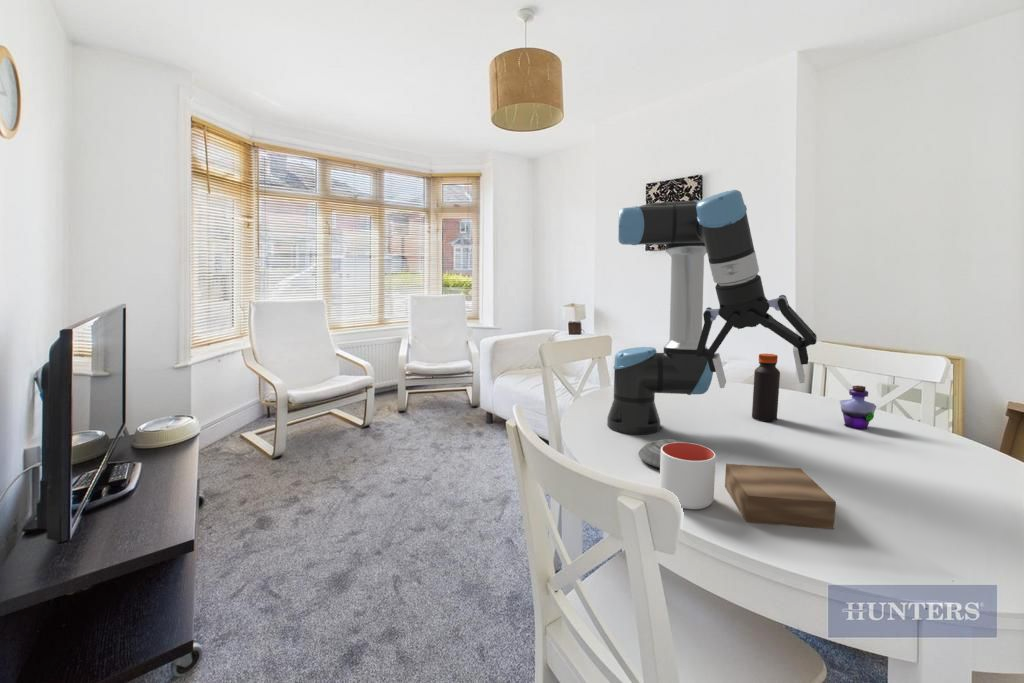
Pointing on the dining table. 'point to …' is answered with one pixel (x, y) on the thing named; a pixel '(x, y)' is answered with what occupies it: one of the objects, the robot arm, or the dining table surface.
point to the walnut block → (779, 496)
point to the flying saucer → (654, 451)
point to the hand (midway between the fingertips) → (760, 382)
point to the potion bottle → (857, 409)
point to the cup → (688, 473)
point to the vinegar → (766, 389)
